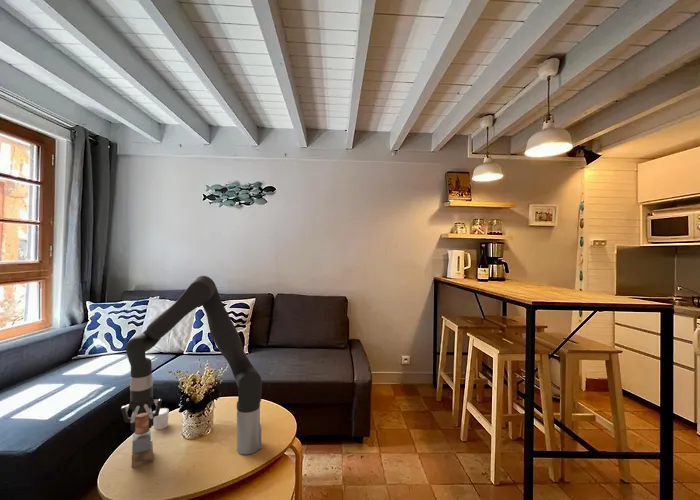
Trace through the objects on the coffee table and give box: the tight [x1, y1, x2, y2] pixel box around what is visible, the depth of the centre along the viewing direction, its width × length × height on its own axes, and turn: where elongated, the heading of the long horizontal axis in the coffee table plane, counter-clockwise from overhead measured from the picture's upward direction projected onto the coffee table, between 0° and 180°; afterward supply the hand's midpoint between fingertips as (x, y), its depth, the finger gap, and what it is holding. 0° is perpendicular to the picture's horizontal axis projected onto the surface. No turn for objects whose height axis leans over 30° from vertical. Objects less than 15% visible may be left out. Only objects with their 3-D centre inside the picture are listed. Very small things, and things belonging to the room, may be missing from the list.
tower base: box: [131, 440, 154, 468], centre depth 140 cm, size 7×7×5 cm
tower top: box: [131, 429, 152, 454], centre depth 139 cm, size 6×6×5 cm
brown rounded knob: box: [134, 412, 151, 435], centre depth 139 cm, size 5×5×6 cm
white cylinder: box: [152, 407, 170, 431], centre depth 164 cm, size 7×7×7 cm
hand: (142, 428), depth 139 cm, fingers closed on brown rounded knob, 5 cm apart
